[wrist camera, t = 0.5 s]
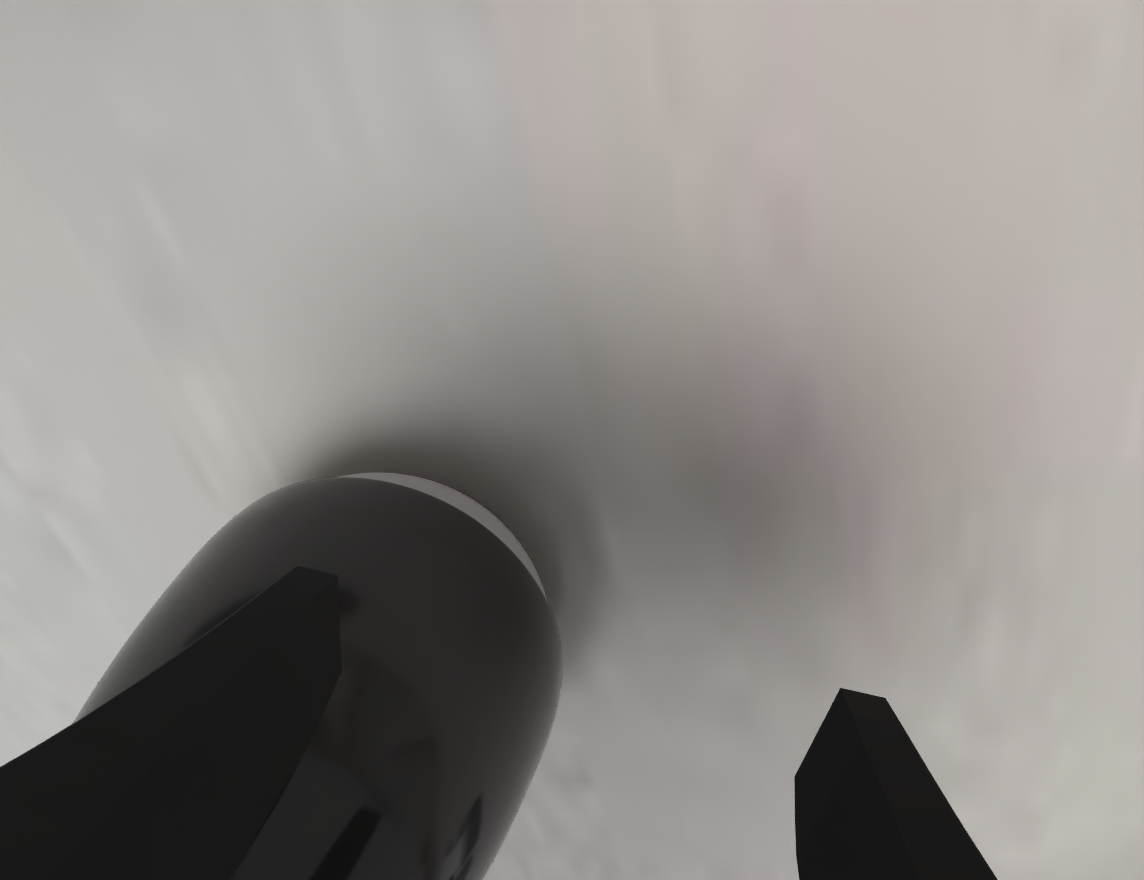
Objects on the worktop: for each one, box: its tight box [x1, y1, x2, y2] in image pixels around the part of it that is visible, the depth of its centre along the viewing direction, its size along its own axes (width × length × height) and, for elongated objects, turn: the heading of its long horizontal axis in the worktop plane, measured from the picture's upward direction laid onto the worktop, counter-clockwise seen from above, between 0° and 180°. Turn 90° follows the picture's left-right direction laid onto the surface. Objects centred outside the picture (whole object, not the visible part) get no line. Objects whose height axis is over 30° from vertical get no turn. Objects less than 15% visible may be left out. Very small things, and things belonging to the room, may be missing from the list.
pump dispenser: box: [72, 472, 563, 880], centre depth 16 cm, size 10×10×15 cm
